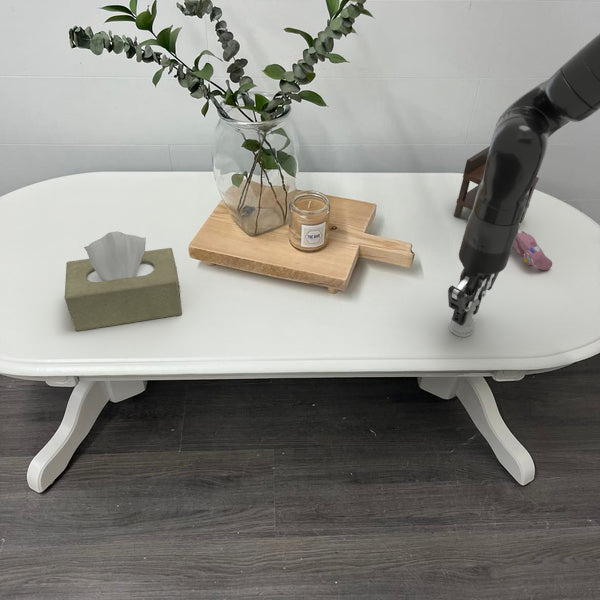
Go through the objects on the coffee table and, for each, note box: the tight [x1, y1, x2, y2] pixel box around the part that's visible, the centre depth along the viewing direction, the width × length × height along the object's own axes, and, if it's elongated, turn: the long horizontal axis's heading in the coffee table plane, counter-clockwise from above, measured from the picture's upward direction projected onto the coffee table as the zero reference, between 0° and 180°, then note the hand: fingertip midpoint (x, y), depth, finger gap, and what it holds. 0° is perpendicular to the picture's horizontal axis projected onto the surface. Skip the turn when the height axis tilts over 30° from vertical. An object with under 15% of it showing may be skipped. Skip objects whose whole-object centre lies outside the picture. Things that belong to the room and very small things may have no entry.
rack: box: [453, 145, 540, 224], centre depth 123 cm, size 12×10×14 cm
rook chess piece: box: [448, 298, 479, 338], centre depth 99 cm, size 4×4×8 cm
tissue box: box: [64, 230, 183, 332], centre depth 99 cm, size 19×10×16 cm, turn 105°
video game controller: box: [513, 228, 553, 271], centre depth 115 cm, size 10×5×7 cm, turn 17°
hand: (464, 316), depth 100 cm, fingers closed on rook chess piece, 3 cm apart
